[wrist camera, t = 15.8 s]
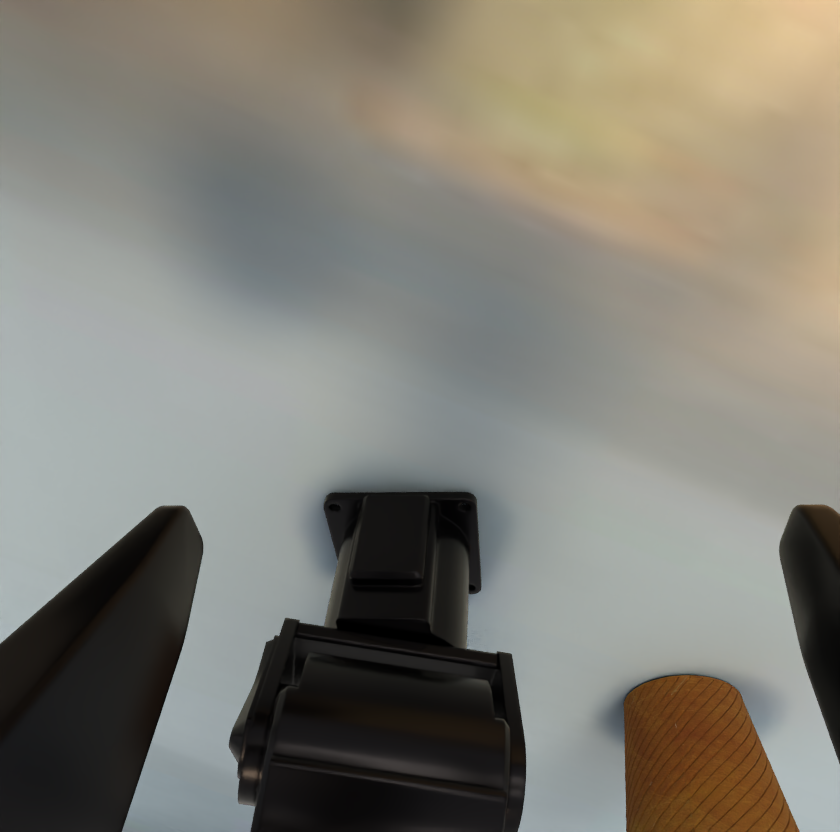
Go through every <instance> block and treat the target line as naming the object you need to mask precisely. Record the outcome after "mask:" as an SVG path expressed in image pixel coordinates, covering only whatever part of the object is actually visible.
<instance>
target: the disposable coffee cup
mask: <svg viewBox="0 0 840 832" xmlns="http://www.w3.org/2000/svg"><path fill="white" fill-rule="evenodd" d="M624 723H625V781H626V821H627V824H626V831H627V832H799V829H798V827H797V825H796V822H795V820H794V818H793V816H792V814H791V811H790V809H789V806H788V804H787V802H786V800H785V797H784V795H783V792H782V790H781V788H780V786H779V783H778V781H777V778H776V776H775V774H774V772H773V769H772V767H771V764H770V762H769V760H768V758H767V755H766V753H765V751H764V748H763V746H762V744H761V741H760V739H759V737H758V735H757V732H756V730H755V727H754V725H753V723H752V721H751V718H750V716H749V713H748V711H747V709H746V706H745V704H744V702H743V699H742V697H741V694H740V693H739V691H738V690H737V689H736V688H734V687H733V686H732V685H730V684H728V683H726V682H724V681H722V680H718V679H714V678H710V677H704V676H696V675H680V676H670V677H664V678H660V679H656V680H652V681H649V682H647V683H644V684H642V685H640V686H639V687H637V688H635V689H634V690H633V691H632V692H630V693H629V694H628V696H627V697H626V698H625V701H624Z"/></svg>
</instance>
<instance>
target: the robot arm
mask: <svg viewBox="0 0 840 832" xmlns="http://www.w3.org/2000/svg"><path fill="white" fill-rule="evenodd" d="M463 503H466V505H464V504H463ZM336 504H338V505H336ZM324 511H325V515H326V518H327V522H328V526H329V530H330V533H331V537H332V541H333V545H334V548H335V552H336V556H337V559H338V563H337V568H336V573H335V577H334V582H333V587H332V591H331V596H330V601H329V605H328V610H327V614H326V619H325V624H324V626H318V625H312V624H306V623H299V622H300V620H296V619H290V618H285V620H284V623H283V626H282V629H281V632H280V635H279V636H276V635H275V637H274V639H273V640H271V641H268V642H266V645H265V649H264V652H263V656H262V659H261V663H260V666H259V670H258V673H257V676H256V679H255V682H254V684H253V687H252V689H251V691H250V693H249V695H248V698H247V700H246V702H245V704H244V706H243V708H242V710H241V712H240V714H239V716H238V719H237V721H236V723H235V725H234V727H233V729H232V732H231V736H230V740H229V748H230V750H231V752H232V753H233V755H234V757H235V759H236V760H237V762H238V773H237V774H238V778H239V779H240V780H239V789H238V802H239V804H244V805H251V806H256V807H255V812H254V817H253V822H252V827H251V832H518V828H519V825H520V821H521V816H522V811H523V803H524V796H525V783H526V748H525V739H524V732H523V725H522V718H521V712H520V705H519V699H518V692H517V685H516V679H515V672H514V666H513V659H512V654H511V653H505V652H498V651H497V653H496V654H495V653H489V652H483V651H476V650H470V649H467V624H468V594H475V593H478V592H479V591H480V590H481V566H480V548H479V530H478V513H477V499H476V497H475V496H474V495H473V494H471V493H467V492H379V493H330V494H328V495H327V496H326V498H325V502H324ZM779 554H780V560H781V565H782V569H783V574H784V578H785V583H786V587H787V592H788V596H789V601H790V605H791V609H792V614H793V618H794V623H795V627H796V632H797V636H798V641H799V645H800V649H801V653H802V657H803V660H804V663H805V666H806V669H807V672H808V675H809V678H810V681H811V684H812V687H813V689H814V692H815V695H816V698H817V701H818V704H819V706H820V709H821V712H822V715H823V718H824V721H825V723H826V726H827V729H828V732H829V735H830V738H831V740H832V743H833V746H834V749H835V752H836V755H837V757H838V760H839V763H840V514H838V513H837V512H836V511H835V510H834V509H832V508H831V507H829V506H826V505H797V506H796V507H795V508H793V510H792V512H791V514H790V517H789V520H788V522H787V525H786V528H785V530H784V533H783V535H782V538H781V541H780V546H779ZM202 555H203V541H202V537H201V535H200V533H199V531H198V528H197V526H196V524H195V522H194V520H193V518H192V515H191V513H190V511H189V510H188V509H187V508H186V507H185V506H160V507H158V508H157V509H155V510H154V511H153V512H152V513H150V514H149V515H148V516H147V517H146V518H145V519H144V520H142V521H141V522H140V523H139V524H138V525H137V526H135V527H134V528H133V529H132V530H131V531H130V532H129V533H127V534H126V535H125V536H124V537H123V538H122V539H120V540H119V541H118V542H117V543H116V544H115V545H114V546H112V547H111V548H110V549H109V550H108V551H107V552H105V553H104V554H103V555H102V556H101V557H100V558H99V559H97V560H96V561H95V562H94V563H93V564H92V565H90V566H89V567H88V568H87V569H86V570H85V571H84V572H82V573H81V574H80V575H79V576H78V577H77V578H76V579H74V580H73V581H72V582H71V583H70V584H69V585H67V586H66V587H65V588H64V589H63V590H62V591H61V592H59V593H58V594H57V595H56V596H55V597H54V598H52V599H51V600H50V601H49V602H48V603H47V604H46V605H44V606H43V607H42V608H41V609H40V610H39V611H37V612H36V613H35V614H34V615H33V616H32V617H31V618H29V619H28V620H27V621H26V622H25V623H24V624H22V625H21V626H20V627H19V628H18V629H17V630H16V631H14V632H13V633H12V634H11V635H10V636H9V637H8V638H6V639H5V640H4V641H3V642H2V643H1V644H0V832H122V829H123V826H124V823H125V820H126V817H127V814H128V811H129V808H130V805H131V802H132V799H133V796H134V793H135V790H136V787H137V784H138V781H139V778H140V775H141V772H142V768H143V765H144V762H145V759H146V756H147V753H148V750H149V747H150V744H151V741H152V738H153V735H154V732H155V729H156V726H157V723H158V720H159V717H160V714H161V711H162V708H163V705H164V702H165V699H166V696H167V693H168V690H169V687H170V684H171V681H172V678H173V675H174V671H175V668H176V665H177V662H178V659H179V656H180V653H181V650H182V646H183V643H184V639H185V635H186V631H187V627H188V622H189V617H190V612H191V608H192V603H193V598H194V593H195V589H196V584H197V579H198V574H199V570H200V565H201V560H202Z"/></svg>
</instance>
